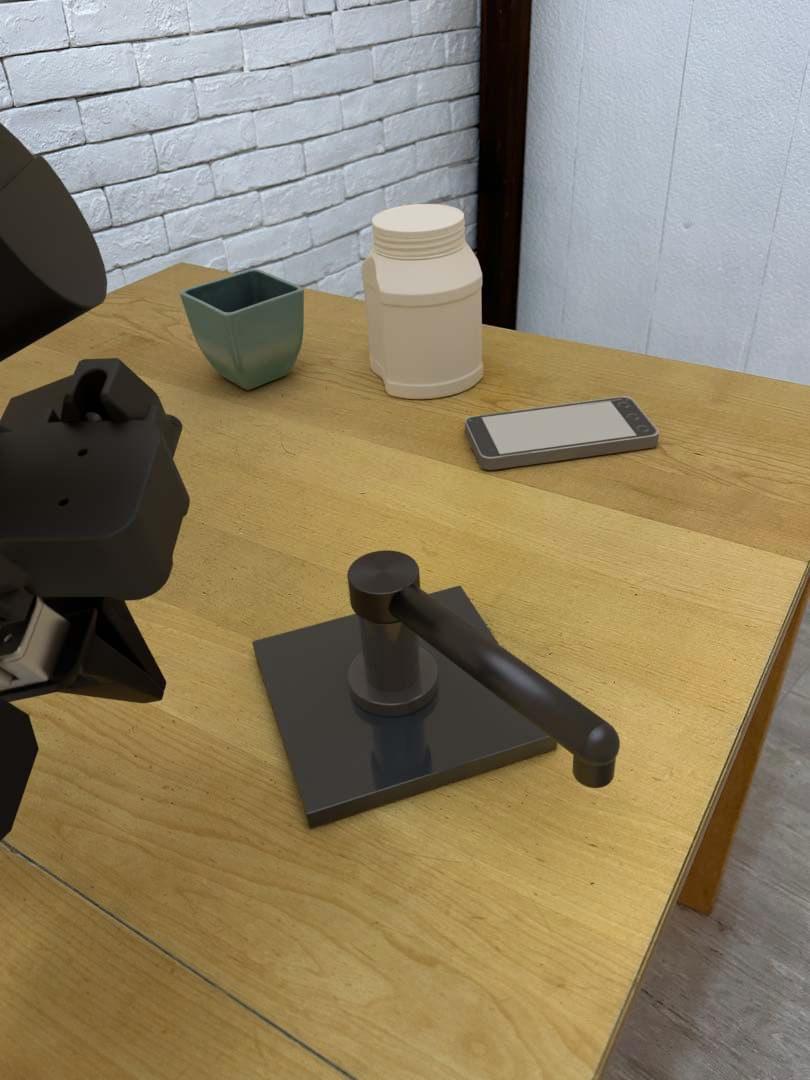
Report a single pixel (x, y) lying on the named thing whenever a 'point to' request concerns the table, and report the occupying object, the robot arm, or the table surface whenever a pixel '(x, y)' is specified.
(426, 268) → the jar
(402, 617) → the spout
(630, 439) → the smartphone
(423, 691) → the black flat block
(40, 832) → the table surface
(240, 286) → the flower pot
